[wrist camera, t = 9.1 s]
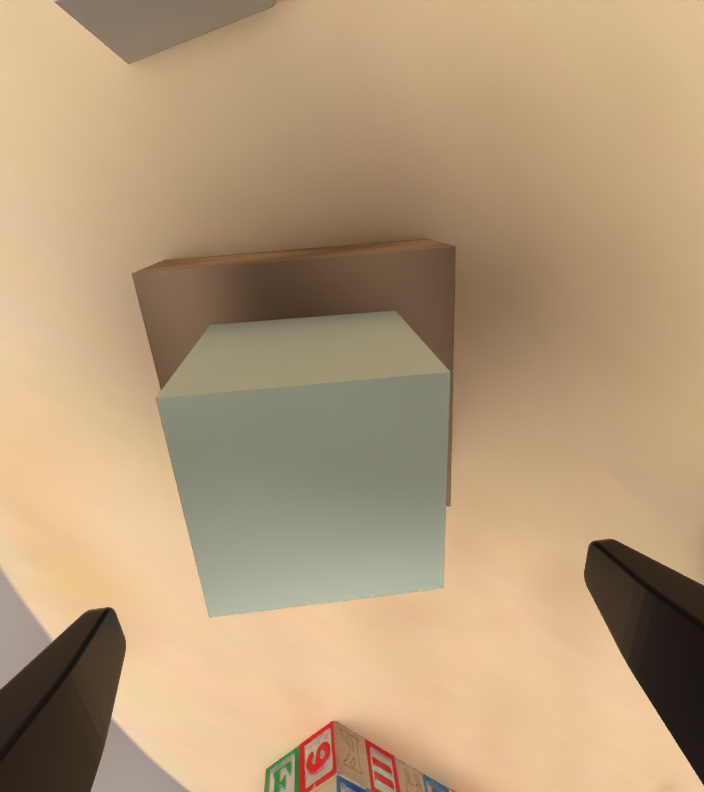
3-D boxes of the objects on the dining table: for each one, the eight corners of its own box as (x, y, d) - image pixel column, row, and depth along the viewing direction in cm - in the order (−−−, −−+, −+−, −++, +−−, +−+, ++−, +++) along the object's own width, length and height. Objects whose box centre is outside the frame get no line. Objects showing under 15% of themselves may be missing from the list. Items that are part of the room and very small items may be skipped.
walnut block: (423, 238, 18) (455, 246, 14) (424, 455, 22) (450, 506, 18) (166, 259, 17) (131, 273, 14) (215, 480, 21) (198, 537, 18)
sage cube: (395, 310, 15) (450, 372, 10) (397, 466, 17) (443, 588, 12) (210, 324, 15) (155, 398, 9) (238, 483, 17) (209, 617, 11)
